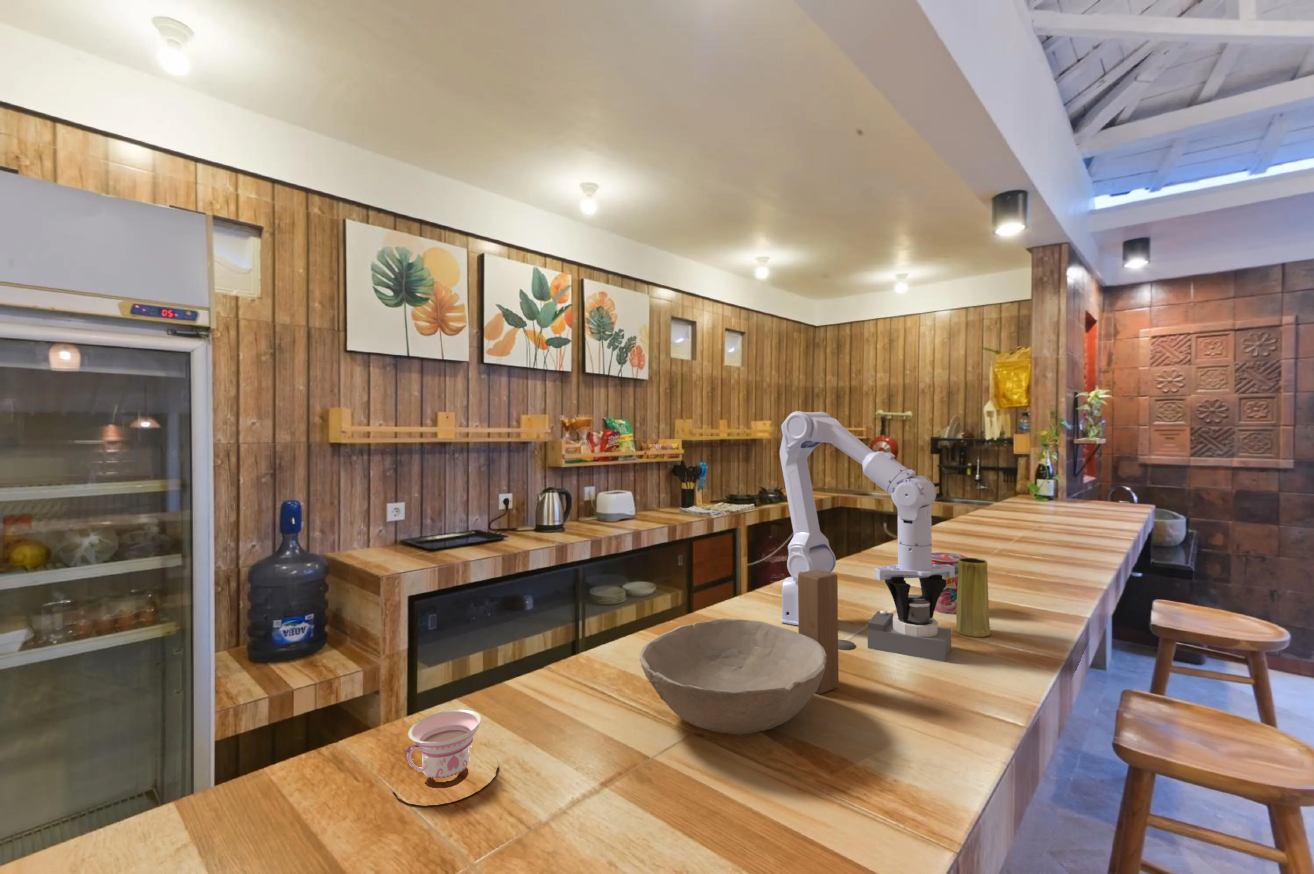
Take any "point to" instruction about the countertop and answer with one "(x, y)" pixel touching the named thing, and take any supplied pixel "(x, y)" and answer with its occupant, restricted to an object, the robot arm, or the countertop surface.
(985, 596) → the vase
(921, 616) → the lens
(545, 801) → the countertop surface
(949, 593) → the cup
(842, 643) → the lens cap
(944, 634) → the camera body
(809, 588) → the wooden block
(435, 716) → the teacup
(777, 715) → the bowl
